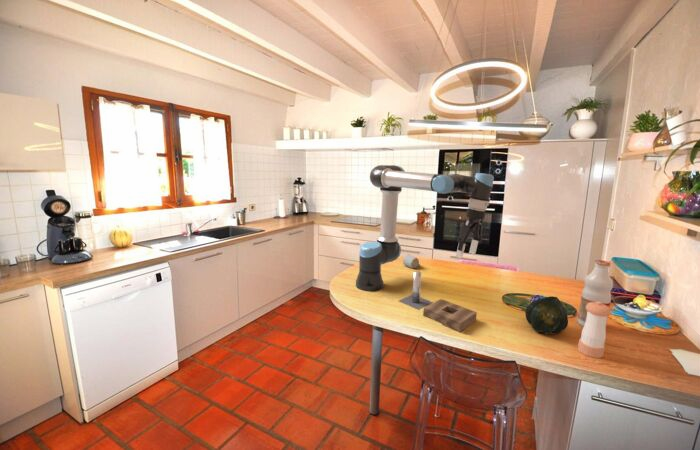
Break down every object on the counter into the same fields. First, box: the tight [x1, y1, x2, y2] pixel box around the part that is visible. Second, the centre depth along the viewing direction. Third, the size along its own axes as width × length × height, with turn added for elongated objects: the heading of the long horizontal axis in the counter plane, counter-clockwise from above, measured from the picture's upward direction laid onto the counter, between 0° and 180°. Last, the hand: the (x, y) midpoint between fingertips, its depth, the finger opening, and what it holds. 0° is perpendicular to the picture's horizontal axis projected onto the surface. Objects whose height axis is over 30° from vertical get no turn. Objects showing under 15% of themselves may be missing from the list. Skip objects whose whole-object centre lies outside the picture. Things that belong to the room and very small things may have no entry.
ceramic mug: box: [402, 254, 421, 269], centre depth 199 cm, size 11×8×8 cm
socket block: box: [422, 298, 478, 333], centre depth 131 cm, size 17×14×4 cm
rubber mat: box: [398, 294, 434, 311], centre depth 146 cm, size 12×12×1 cm
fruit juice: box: [577, 259, 614, 328], centre depth 125 cm, size 9×9×28 cm
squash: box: [524, 296, 569, 335], centre depth 122 cm, size 14×15×15 cm
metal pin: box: [411, 270, 422, 303], centre depth 145 cm, size 4×4×15 cm
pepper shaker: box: [577, 302, 612, 359], centre depth 107 cm, size 7×7×19 cm
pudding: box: [531, 294, 546, 302], centre depth 144 cm, size 12×12×5 cm
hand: (465, 255), depth 136 cm, fingers open, 13 cm apart
